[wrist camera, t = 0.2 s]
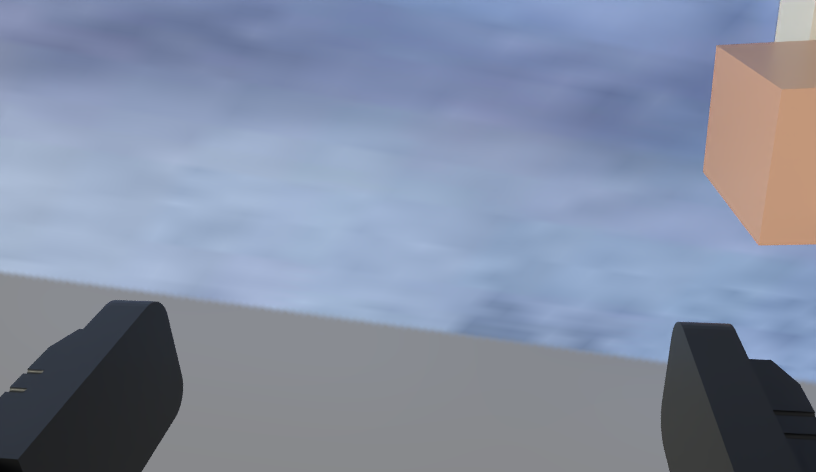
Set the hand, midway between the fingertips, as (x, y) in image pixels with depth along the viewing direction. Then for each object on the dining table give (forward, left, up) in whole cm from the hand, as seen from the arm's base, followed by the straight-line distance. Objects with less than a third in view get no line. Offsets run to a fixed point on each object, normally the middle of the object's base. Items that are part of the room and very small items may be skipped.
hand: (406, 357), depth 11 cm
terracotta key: (+3, +15, -24) cm, 29 cm away
